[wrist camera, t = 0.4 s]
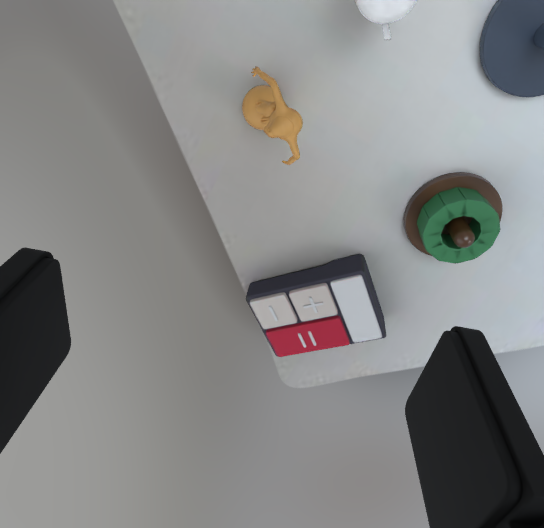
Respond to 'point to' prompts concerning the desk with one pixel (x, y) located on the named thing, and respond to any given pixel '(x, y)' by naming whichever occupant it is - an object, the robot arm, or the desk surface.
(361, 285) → the calculator
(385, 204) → the desk surface
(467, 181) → the walnut peg
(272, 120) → the figurine
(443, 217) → the ring
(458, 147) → the desk surface
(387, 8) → the milkshake
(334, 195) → the desk surface
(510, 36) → the slate peg
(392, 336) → the desk surface
